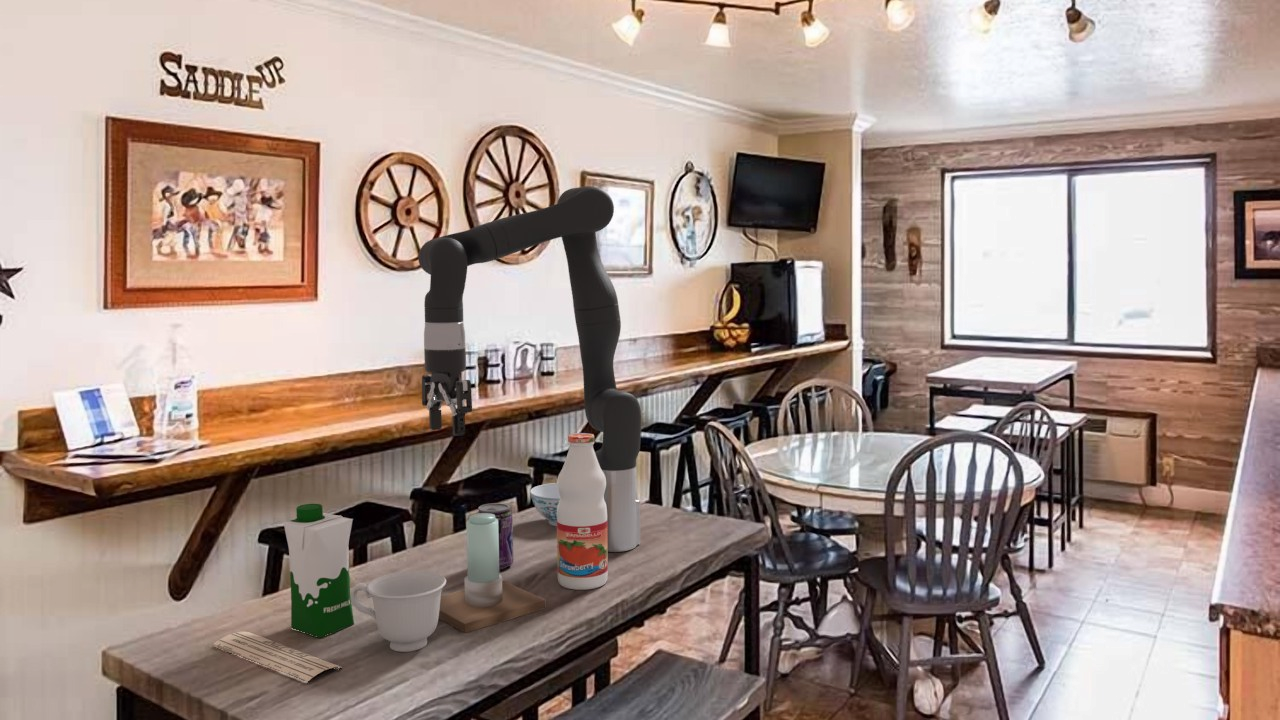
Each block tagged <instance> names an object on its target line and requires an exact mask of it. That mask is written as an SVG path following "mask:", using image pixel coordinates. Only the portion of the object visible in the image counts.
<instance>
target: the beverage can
mask: <svg viewBox="0 0 1280 720" xmlns="http://www.w3.org/2000/svg"><path fill="white" fill-rule="evenodd" d="M479 513H490V514H494V515H495V518H496V519H498V533H499V571H500V569H501V570H504V569H506V568H508V567H509V566H511V565H513V564H514V535H513V534H514V532H513V530H514V526H513V525H514V523H513V513H512V511H511V506H510V505H509V504H507V503H501V502H497V503H496V502H494V503H493V502H492V503H485V504H481V505H480V506H478V511H477V514H479Z"/></svg>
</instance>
